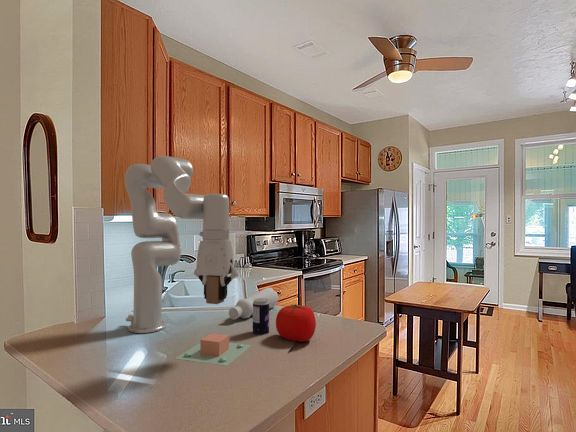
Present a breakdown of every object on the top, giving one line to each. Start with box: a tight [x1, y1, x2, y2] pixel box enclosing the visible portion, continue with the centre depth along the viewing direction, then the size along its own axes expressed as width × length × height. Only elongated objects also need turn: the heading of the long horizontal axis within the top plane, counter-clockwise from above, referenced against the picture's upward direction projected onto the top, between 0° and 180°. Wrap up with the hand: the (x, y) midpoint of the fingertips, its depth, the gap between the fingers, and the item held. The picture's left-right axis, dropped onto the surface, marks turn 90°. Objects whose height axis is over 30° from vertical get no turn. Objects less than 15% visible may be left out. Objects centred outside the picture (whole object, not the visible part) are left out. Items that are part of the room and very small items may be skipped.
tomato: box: [275, 303, 317, 343], centre depth 113 cm, size 13×14×12 cm
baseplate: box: [174, 342, 252, 367], centre depth 99 cm, size 16×16×2 cm
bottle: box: [228, 287, 279, 320], centre depth 145 cm, size 9×9×30 cm
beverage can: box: [252, 298, 270, 336], centre depth 118 cm, size 6×6×12 cm
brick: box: [199, 333, 230, 356], centre depth 99 cm, size 6×6×4 cm
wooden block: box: [205, 275, 225, 305], centre depth 100 cm, size 4×4×8 cm
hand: (215, 298), depth 100 cm, fingers closed on wooden block, 4 cm apart
